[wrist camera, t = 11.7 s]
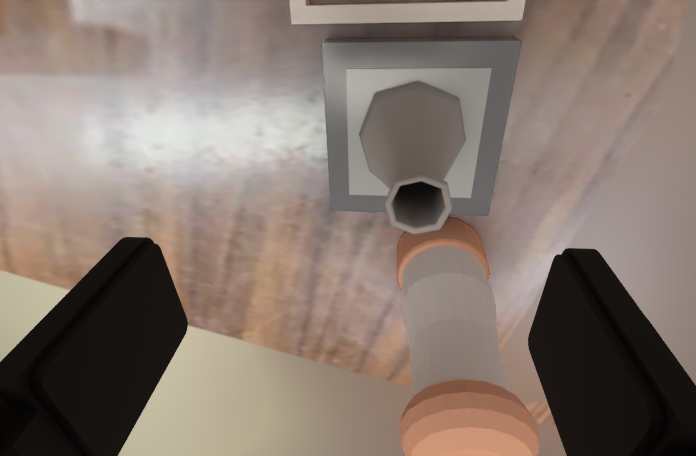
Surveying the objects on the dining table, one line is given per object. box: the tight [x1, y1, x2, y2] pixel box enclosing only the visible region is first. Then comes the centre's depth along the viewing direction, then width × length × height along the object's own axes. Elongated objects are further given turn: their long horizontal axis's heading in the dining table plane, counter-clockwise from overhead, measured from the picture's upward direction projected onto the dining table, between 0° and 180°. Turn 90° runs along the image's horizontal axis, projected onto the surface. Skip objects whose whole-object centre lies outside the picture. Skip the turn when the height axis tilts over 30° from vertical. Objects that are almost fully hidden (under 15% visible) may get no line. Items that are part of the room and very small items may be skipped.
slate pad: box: [322, 37, 522, 216], centre depth 28 cm, size 12×12×2 cm
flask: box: [359, 82, 466, 235], centre depth 23 cm, size 7×7×10 cm
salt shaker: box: [397, 217, 539, 456], centre depth 26 cm, size 7×7×19 cm
